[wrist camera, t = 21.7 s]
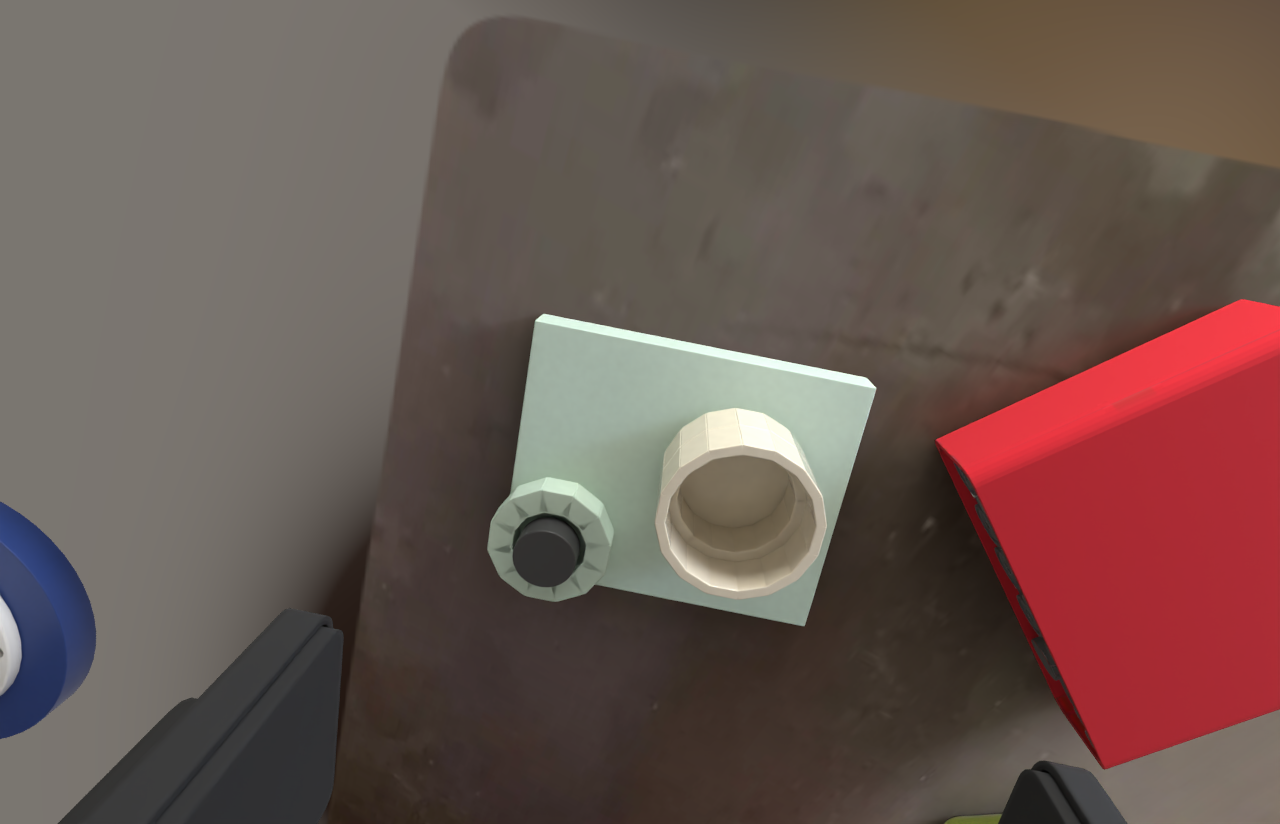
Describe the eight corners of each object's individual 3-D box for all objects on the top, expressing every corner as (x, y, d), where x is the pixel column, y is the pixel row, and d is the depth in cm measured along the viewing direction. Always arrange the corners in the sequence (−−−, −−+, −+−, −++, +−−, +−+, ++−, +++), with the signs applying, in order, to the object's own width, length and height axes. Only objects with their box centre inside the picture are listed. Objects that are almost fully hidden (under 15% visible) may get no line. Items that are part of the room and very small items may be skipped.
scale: (499, 553, 39) (481, 588, 35) (533, 311, 35) (517, 324, 31) (797, 613, 39) (807, 653, 35) (867, 377, 34) (885, 397, 31)
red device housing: (930, 435, 35) (968, 473, 30) (1230, 296, 32) (1323, 315, 28) (1058, 706, 39) (1108, 777, 34) (1334, 604, 36) (1431, 667, 32)
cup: (649, 523, 36) (641, 581, 30) (676, 392, 33) (674, 430, 28) (785, 550, 35) (801, 613, 30) (821, 421, 33) (845, 464, 28)
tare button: (515, 564, 35) (508, 581, 34) (523, 510, 34) (516, 525, 33) (575, 576, 35) (570, 593, 34) (584, 522, 34) (580, 538, 33)
